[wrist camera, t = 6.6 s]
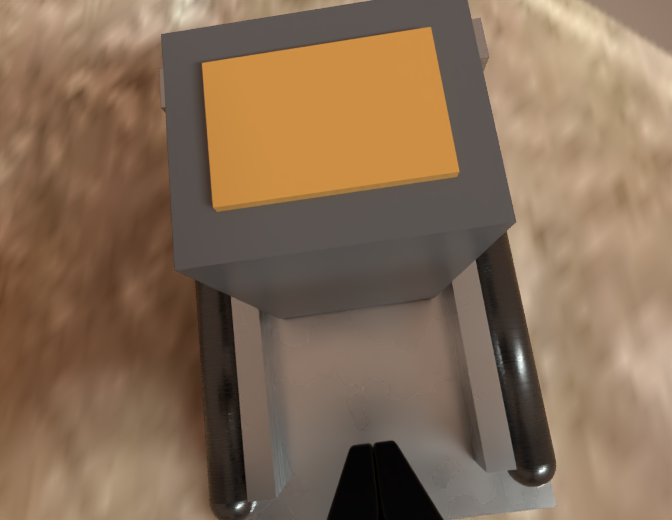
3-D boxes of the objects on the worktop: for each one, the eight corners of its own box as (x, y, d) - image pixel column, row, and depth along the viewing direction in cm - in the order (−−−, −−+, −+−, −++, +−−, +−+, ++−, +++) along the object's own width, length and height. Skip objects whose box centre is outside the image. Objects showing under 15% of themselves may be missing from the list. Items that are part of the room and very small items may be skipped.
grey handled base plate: (543, 497, 15) (694, 614, 8) (231, 534, 15) (119, 676, 8) (471, 146, 17) (538, 8, 11) (205, 186, 18) (104, 77, 11)
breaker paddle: (434, 297, 15) (520, 217, 7) (279, 318, 15) (168, 267, 7) (414, 180, 16) (467, -25, 7) (267, 201, 16) (155, 25, 8)
